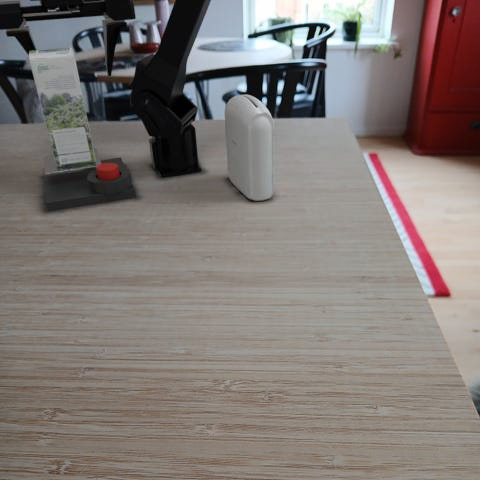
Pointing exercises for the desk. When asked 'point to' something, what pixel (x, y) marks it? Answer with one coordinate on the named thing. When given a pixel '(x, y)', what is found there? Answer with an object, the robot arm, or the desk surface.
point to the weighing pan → (52, 169)
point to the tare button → (107, 171)
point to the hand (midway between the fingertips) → (78, 79)
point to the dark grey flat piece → (87, 188)
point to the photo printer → (250, 146)
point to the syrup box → (62, 105)
